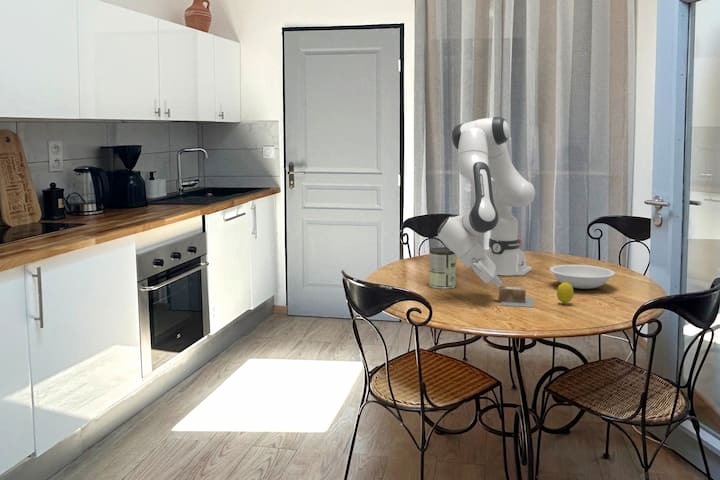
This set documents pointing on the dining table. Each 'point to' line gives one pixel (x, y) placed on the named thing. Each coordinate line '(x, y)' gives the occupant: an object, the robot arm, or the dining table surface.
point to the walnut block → (512, 294)
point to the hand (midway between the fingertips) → (500, 285)
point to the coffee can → (442, 268)
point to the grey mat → (527, 303)
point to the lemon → (565, 292)
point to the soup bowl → (582, 275)
